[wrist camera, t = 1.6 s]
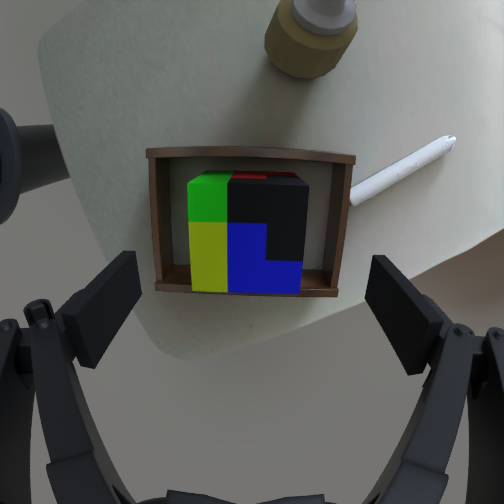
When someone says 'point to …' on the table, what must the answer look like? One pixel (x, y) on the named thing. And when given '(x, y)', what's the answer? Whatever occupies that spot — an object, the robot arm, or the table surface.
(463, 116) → the table surface
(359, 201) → the marker
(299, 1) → the squeeze bottle
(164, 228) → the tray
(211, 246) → the puzzle toy
